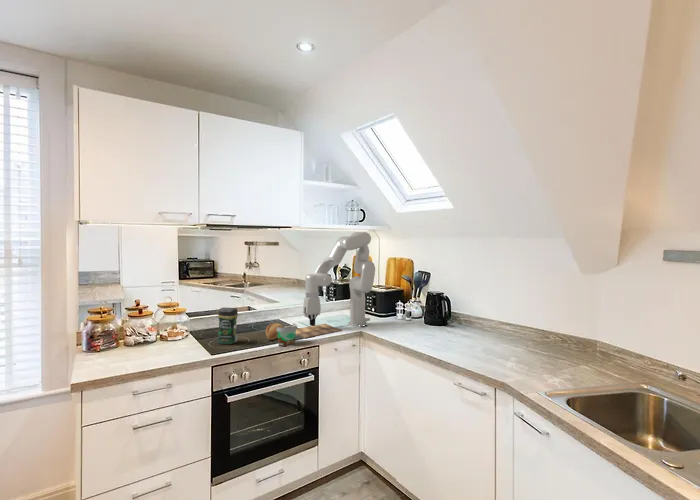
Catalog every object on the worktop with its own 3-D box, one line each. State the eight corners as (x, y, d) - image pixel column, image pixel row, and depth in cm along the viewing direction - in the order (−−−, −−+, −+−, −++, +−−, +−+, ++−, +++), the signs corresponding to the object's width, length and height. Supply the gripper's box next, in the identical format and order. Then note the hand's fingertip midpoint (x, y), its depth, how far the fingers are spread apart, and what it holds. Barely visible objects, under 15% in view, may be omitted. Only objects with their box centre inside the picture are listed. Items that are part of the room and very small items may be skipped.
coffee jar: (215, 344, 186) (215, 308, 185) (222, 340, 193) (222, 305, 193) (233, 345, 184) (233, 309, 184) (239, 340, 192) (239, 306, 192)
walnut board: (333, 329, 219) (333, 327, 219) (341, 332, 213) (341, 329, 213) (297, 336, 202) (297, 334, 202) (305, 339, 196) (305, 337, 196)
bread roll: (261, 341, 193) (261, 326, 193) (271, 333, 208) (271, 320, 207) (278, 342, 191) (278, 327, 191) (287, 334, 206) (287, 321, 206)
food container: (284, 349, 179) (284, 329, 179) (276, 346, 183) (276, 327, 183) (302, 343, 189) (302, 324, 189) (293, 341, 193) (294, 323, 192)
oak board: (325, 325, 226) (325, 323, 226) (332, 329, 220) (333, 326, 220) (289, 332, 209) (289, 330, 208) (296, 336, 203) (297, 333, 202)
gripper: (318, 293, 222) (318, 322, 222) (297, 295, 212) (298, 326, 213) (325, 294, 216) (326, 324, 217) (305, 297, 206) (305, 329, 207)
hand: (312, 325), depth 215 cm, fingers closed
